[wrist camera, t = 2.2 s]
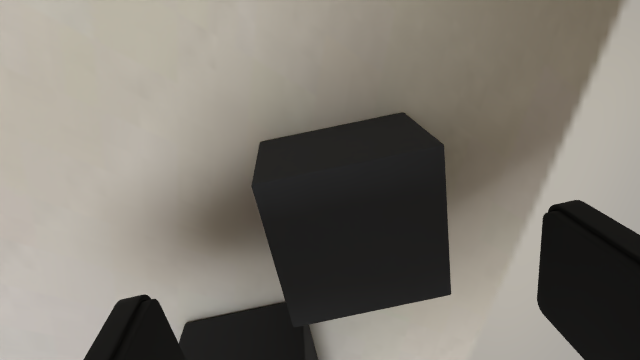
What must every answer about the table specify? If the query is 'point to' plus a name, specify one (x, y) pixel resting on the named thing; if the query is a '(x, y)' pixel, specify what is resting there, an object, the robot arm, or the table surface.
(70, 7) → the table surface
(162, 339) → the robot arm
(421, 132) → the black block
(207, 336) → the black square block
